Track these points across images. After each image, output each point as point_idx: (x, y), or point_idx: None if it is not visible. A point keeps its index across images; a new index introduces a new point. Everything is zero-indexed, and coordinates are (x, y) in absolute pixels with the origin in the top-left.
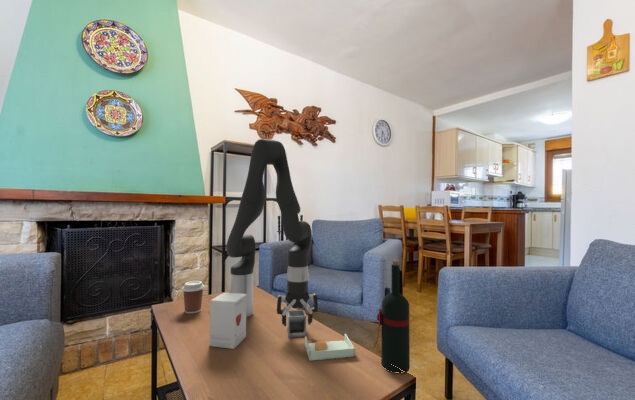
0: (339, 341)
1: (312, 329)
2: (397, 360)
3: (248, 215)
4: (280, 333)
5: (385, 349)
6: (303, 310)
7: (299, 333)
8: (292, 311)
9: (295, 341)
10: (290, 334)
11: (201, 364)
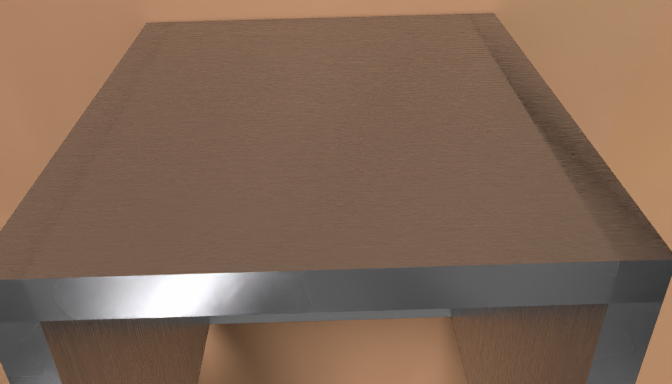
0: None
1: (648, 66)
2: None
3: None
4: (44, 154)
5: None
6: (622, 329)
7: (368, 314)
8: (193, 292)
9: (299, 377)
10: (223, 318)
11: None
